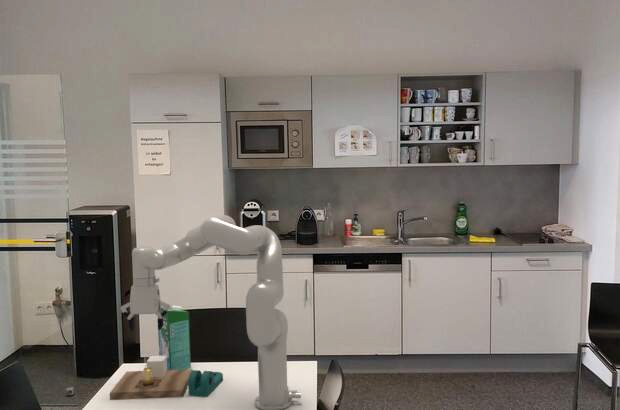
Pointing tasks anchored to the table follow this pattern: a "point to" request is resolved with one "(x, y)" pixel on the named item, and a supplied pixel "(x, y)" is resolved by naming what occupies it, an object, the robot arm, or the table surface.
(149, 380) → the brass pin
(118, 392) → the walnut board
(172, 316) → the milk carton
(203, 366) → the table surface
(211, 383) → the bracket
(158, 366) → the cream cube
